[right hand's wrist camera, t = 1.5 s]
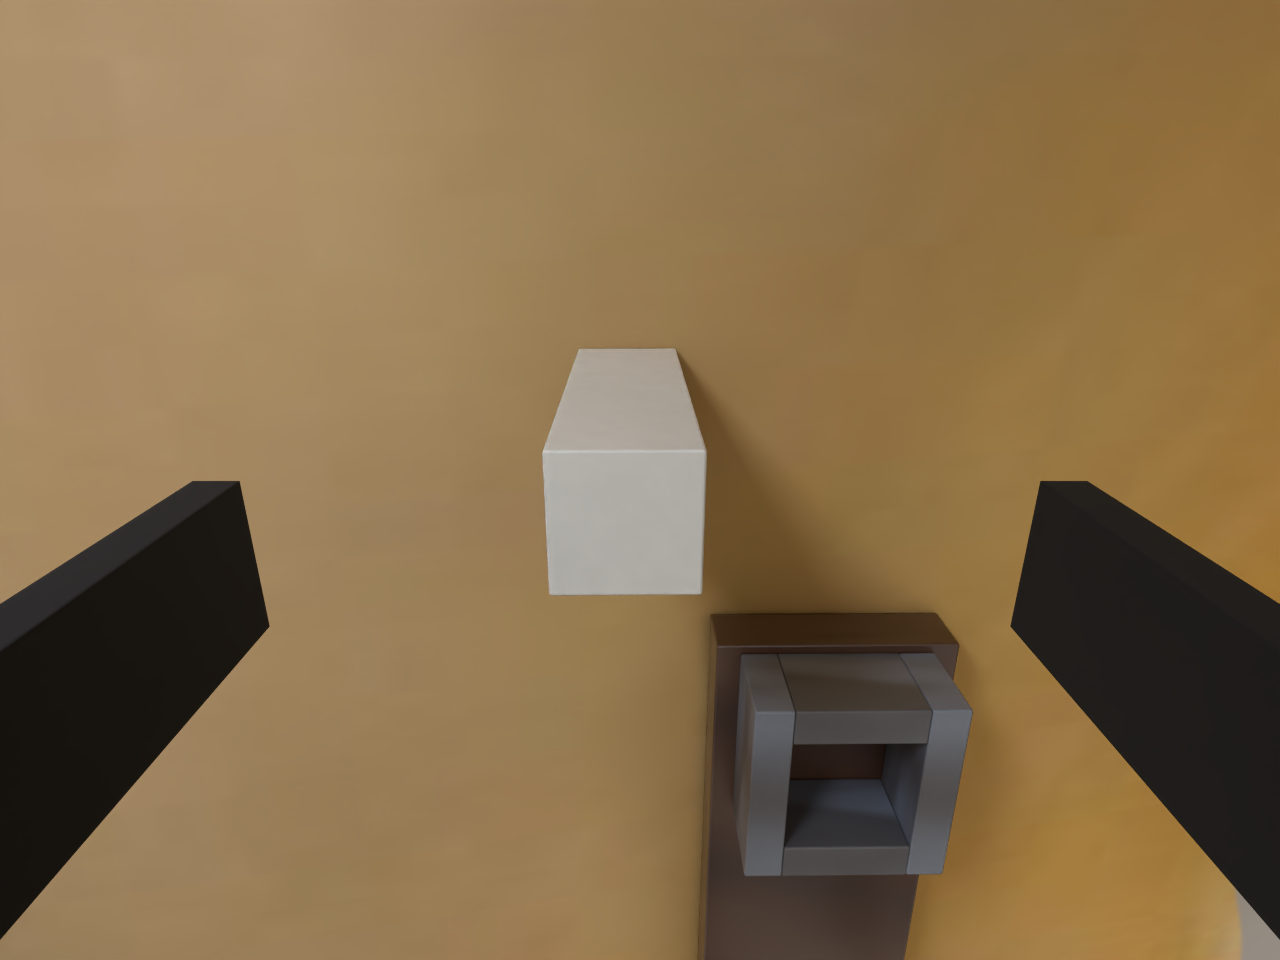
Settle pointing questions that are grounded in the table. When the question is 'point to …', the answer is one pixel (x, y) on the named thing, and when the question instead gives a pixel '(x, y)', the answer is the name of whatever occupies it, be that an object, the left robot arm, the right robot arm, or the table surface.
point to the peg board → (825, 781)
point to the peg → (625, 478)
